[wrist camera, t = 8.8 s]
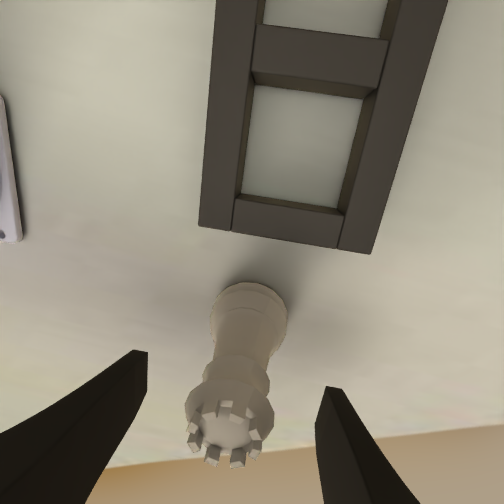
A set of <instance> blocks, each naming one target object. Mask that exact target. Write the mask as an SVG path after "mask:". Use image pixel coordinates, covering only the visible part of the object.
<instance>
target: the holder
mask: <svg viewBox="0 0 504 504" xmlns="http://www.w3.org/2000/svg"><path fill="white" fill-rule="evenodd" d="M447 3H448V0H388V4H387V8H386V12H385V17H384V21H383V25H382V29H381V33H380V37H379V39H377V38H369V37H361V36H353V35H345V34H337V33H329V32H321V31H313V30H305V29H298V28H290V27H282V26H274V25H266V24H262V23H263V15H264V7H265V0H216V9H215V22H214V34H213V47H212V59H211V71H210V84H209V96H208V109H207V121H206V134H205V146H204V159H203V171H202V184H201V196H200V208H199V221H198V225H199V226H201V227H207V228H213V229H219V230H224V231H232V232H236V233H242V234H248V235H254V236H260V237H266V238H272V239H278V240H284V241H290V242H296V243H302V244H308V245H314V246H320V247H326V248H332V249H336V248H337V249H338V250H344V251H350V252H356V253H362V254H368V255H369V254H371V252H372V249H373V246H374V242H375V239H376V236H377V233H378V229H379V226H380V223H381V219H382V216H383V213H384V210H385V206H386V203H387V200H388V196H389V193H390V190H391V187H392V183H393V180H394V177H395V174H396V170H397V167H398V164H399V160H400V157H401V154H402V151H403V147H404V144H405V141H406V137H407V134H408V131H409V128H410V124H411V121H412V118H413V114H414V111H415V108H416V105H417V101H418V98H419V95H420V92H421V88H422V85H423V82H424V78H425V75H426V72H427V69H428V65H429V62H430V59H431V55H432V52H433V49H434V46H435V42H436V39H437V36H438V32H439V29H440V26H441V23H442V19H443V16H444V13H445V10H446V6H447ZM255 84H257V85H264V86H272V87H279V88H286V89H294V90H301V91H308V92H315V93H323V94H330V95H337V96H344V97H352V98H359V99H363V98H364V102H363V106H362V110H361V114H360V118H359V122H358V126H357V130H356V134H355V138H354V142H353V146H352V150H351V154H350V158H349V162H348V166H347V170H346V174H345V178H344V183H343V187H342V191H341V195H340V199H339V203H338V207H337V209H335V208H329V207H323V206H316V205H310V204H304V203H298V202H291V201H285V200H279V199H272V198H266V197H260V196H254V195H247V194H241V187H242V179H243V172H244V164H245V156H246V148H247V140H248V132H249V125H250V117H251V109H252V101H253V93H254V85H255Z"/></svg>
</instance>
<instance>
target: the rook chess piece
mask: <svg viewBox="0 0 504 504" xmlns="http://www.w3.org/2000/svg"><path fill="white" fill-rule="evenodd" d="M287 315H288V312H287V310H286V307H285V305H284V302H283V300H282V299H281V298H280V297H279V296H278V295H277V294H276V293H275V292H274V291H273V290H272V289H270V288H268V287H265V286H263V285H261V284H259V283H246V282H241V283H238V284H235V285H232V286H229V287H227V288H226V289H225V290H224V291H223V292H222V293H221V294H219V295H218V296H217V299H216V301H215V303H214V306H213V310H212V313H211V315H210V330H211V335H212V337H213V341H214V343H215V350H214V356H213V361H211V362H210V363H209V364H207V366H206V368H205V370H204V372H203V374H202V377H203V383H201V384H200V385H199V386H197V387H196V388H195V389H193V390H192V391H191V392H190V394H189V396H188V398H187V400H186V402H185V412H186V419H187V421H188V423H189V425H188V428H187V430H186V432H189V433H190V435H189V438H188V441H187V444H188V445H189V447H190V449H191V450H192V452H193V453H195V452H198V451H200V449H201V445H202V444H203V445H204V446H205V447H206V448H207V451H206V455H205V459H204V462H206V463H208V464H211V465H213V466H216V467H217V466H218V462H219V457H220V454H229V455H231V458H230V466H231V469H233V468H239V467H245V460H246V453H247V452H249V453H248V456H249V457H250V458H252V459H254V460H256V459H257V457H258V455H259V454H260V453H261V449H262V441H264V440H265V439H266V438H267V436H268V435H269V433H270V432H271V430H272V428H273V427H274V411H273V409H272V407H271V405H270V403H269V400H268V399H267V398H266V396H267V395H268V393H269V388H270V380H269V378H268V376H267V373H266V370H267V366H268V362H269V358H270V357H271V356H272V355H273V353H274V352H275V351H276V350H278V348H279V346H280V345H281V343H282V341H283V339H284V338H285V335H286V327H287Z"/></svg>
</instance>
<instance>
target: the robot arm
mask: <svg viewBox="0 0 504 504" xmlns="http://www.w3.org/2000/svg"><path fill="white" fill-rule="evenodd" d="M4 233H5V234H4ZM22 239H23V234H22V227H21V220H20V212H19V205H18V198H17V191H16V183H15V176H14V169H13V162H12V155H11V147H10V140H9V133H8V126H7V118H6V111H5V104H4V101H3V98H2V97H1V95H0V242H5V243H11V244H14V243H17V242H20V241H21V240H22ZM147 370H148V352H144V351H139V350H132V351H130V352H129V353H128V354H126V355H125V356H123V357H122V358H121V359H119V360H118V361H116V362H115V363H114V364H112V365H111V366H109V367H108V368H107V369H105V370H104V371H102V372H101V373H100V374H98V375H97V376H95V377H94V378H92V379H91V380H89V381H88V382H87V383H85V384H84V385H82V386H81V387H79V388H78V389H76V390H75V391H73V392H71V393H70V394H68V395H67V396H65V397H64V398H62V399H60V400H59V401H57V402H56V403H54V404H53V405H51V406H49V407H48V408H46V409H44V410H43V411H41V412H39V413H37V414H36V415H34V416H32V417H30V418H28V419H27V420H25V421H23V422H21V423H19V424H18V425H16V426H14V427H12V428H10V429H8V430H6V431H4V432H2V433H0V504H85V502H86V500H87V498H88V497H89V495H90V493H91V491H92V489H93V487H94V486H95V484H96V482H97V480H98V479H99V477H100V475H101V474H102V472H103V470H104V469H105V467H106V465H107V464H108V462H109V460H110V459H111V457H112V455H113V454H114V452H115V450H116V449H117V447H118V445H119V444H120V442H121V440H122V439H123V437H124V435H125V434H126V432H127V430H128V429H129V427H130V425H131V424H132V422H133V420H134V418H135V416H136V414H137V412H138V410H139V408H140V406H141V404H142V402H143V399H144V397H145V395H146V393H147ZM315 441H316V455H317V462H318V468H319V475H320V481H321V486H322V493H323V499H324V504H420V502H419V501H418V500H417V499H416V498H415V496H414V495H413V494H412V493H411V491H410V490H409V489H408V488H407V486H406V485H405V483H404V482H403V481H402V480H401V478H400V477H399V476H398V474H397V473H396V471H395V470H394V469H393V467H392V466H391V464H390V463H389V462H388V460H387V459H386V457H385V456H384V454H383V453H382V451H381V450H380V449H379V447H378V445H377V444H376V443H375V441H374V439H373V438H372V436H371V435H370V433H369V432H368V430H367V429H366V427H365V426H364V424H363V422H362V421H361V419H360V418H359V416H358V414H357V413H356V411H355V409H354V408H353V406H352V404H351V403H350V401H349V400H348V398H347V396H346V395H345V393H344V391H343V390H342V389H340V388H335V387H329V386H326V388H325V391H324V395H323V398H322V401H321V405H320V408H319V412H318V415H317V418H316V422H315Z"/></svg>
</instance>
